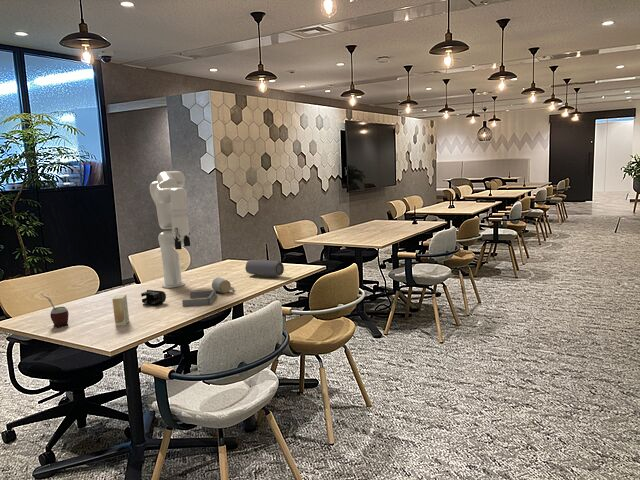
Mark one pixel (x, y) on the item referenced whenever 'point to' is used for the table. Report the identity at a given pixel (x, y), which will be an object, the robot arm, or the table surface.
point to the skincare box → (120, 310)
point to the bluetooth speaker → (264, 268)
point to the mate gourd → (59, 315)
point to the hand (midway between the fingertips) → (182, 247)
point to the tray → (200, 301)
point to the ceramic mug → (221, 285)
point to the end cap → (153, 297)
